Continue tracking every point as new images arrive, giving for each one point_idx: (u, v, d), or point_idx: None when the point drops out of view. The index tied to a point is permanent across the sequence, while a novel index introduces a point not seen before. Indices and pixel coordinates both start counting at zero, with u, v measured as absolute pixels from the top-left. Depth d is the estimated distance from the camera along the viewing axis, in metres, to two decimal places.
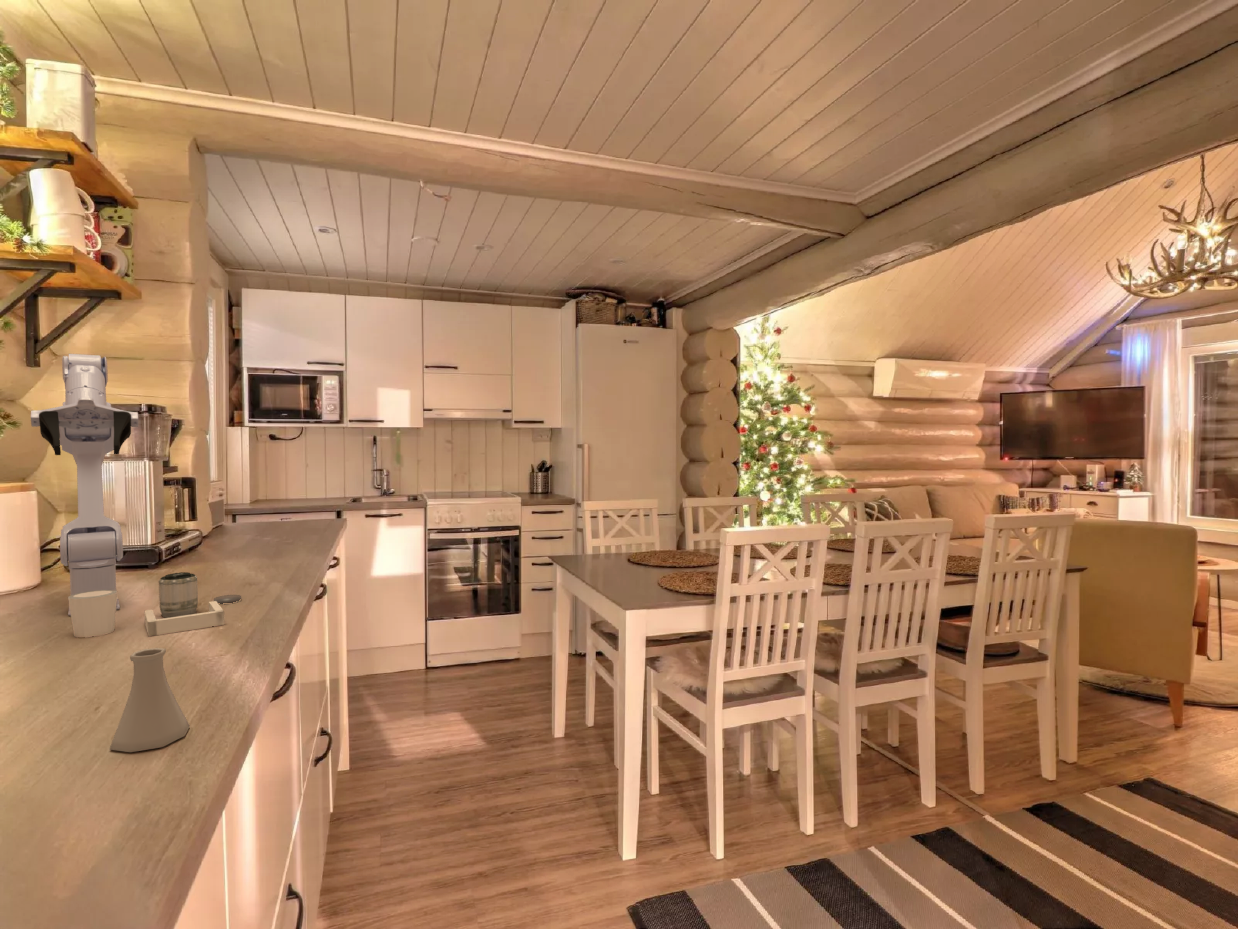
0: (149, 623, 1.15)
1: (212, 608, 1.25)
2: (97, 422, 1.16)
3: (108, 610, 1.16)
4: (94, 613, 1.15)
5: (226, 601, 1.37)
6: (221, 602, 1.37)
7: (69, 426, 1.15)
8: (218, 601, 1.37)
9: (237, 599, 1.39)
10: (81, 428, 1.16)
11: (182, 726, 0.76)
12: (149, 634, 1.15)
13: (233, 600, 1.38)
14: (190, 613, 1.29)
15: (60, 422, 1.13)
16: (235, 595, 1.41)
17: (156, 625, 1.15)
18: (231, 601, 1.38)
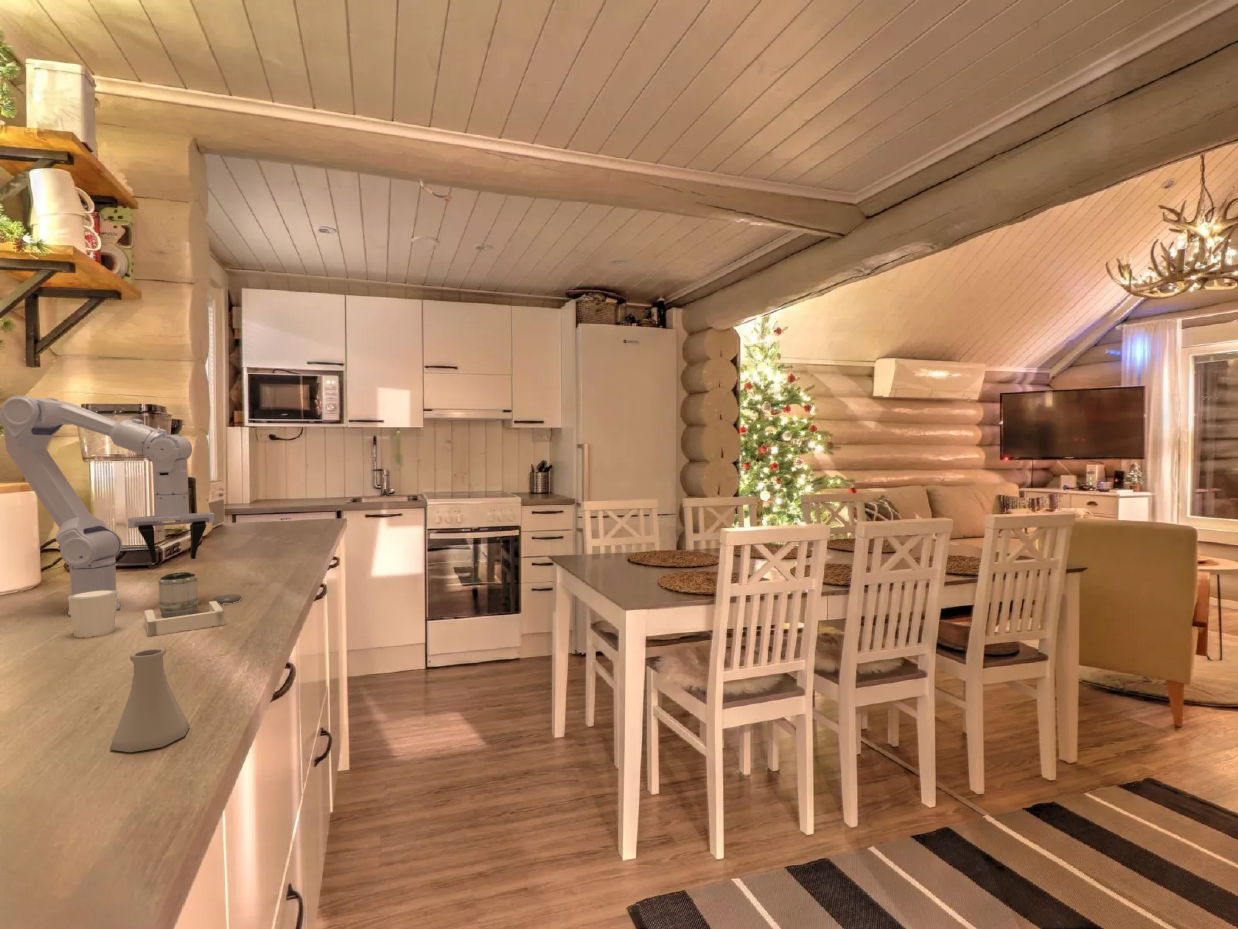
0: (149, 623, 1.15)
1: (212, 608, 1.25)
2: None
3: (108, 610, 1.16)
4: (94, 613, 1.15)
5: (226, 601, 1.37)
6: (221, 602, 1.37)
7: None
8: (218, 601, 1.37)
9: (237, 599, 1.39)
10: None
11: (182, 726, 0.76)
12: (149, 634, 1.15)
13: (233, 600, 1.38)
14: (190, 613, 1.29)
15: None
16: (235, 595, 1.41)
17: (156, 625, 1.15)
18: (231, 601, 1.38)
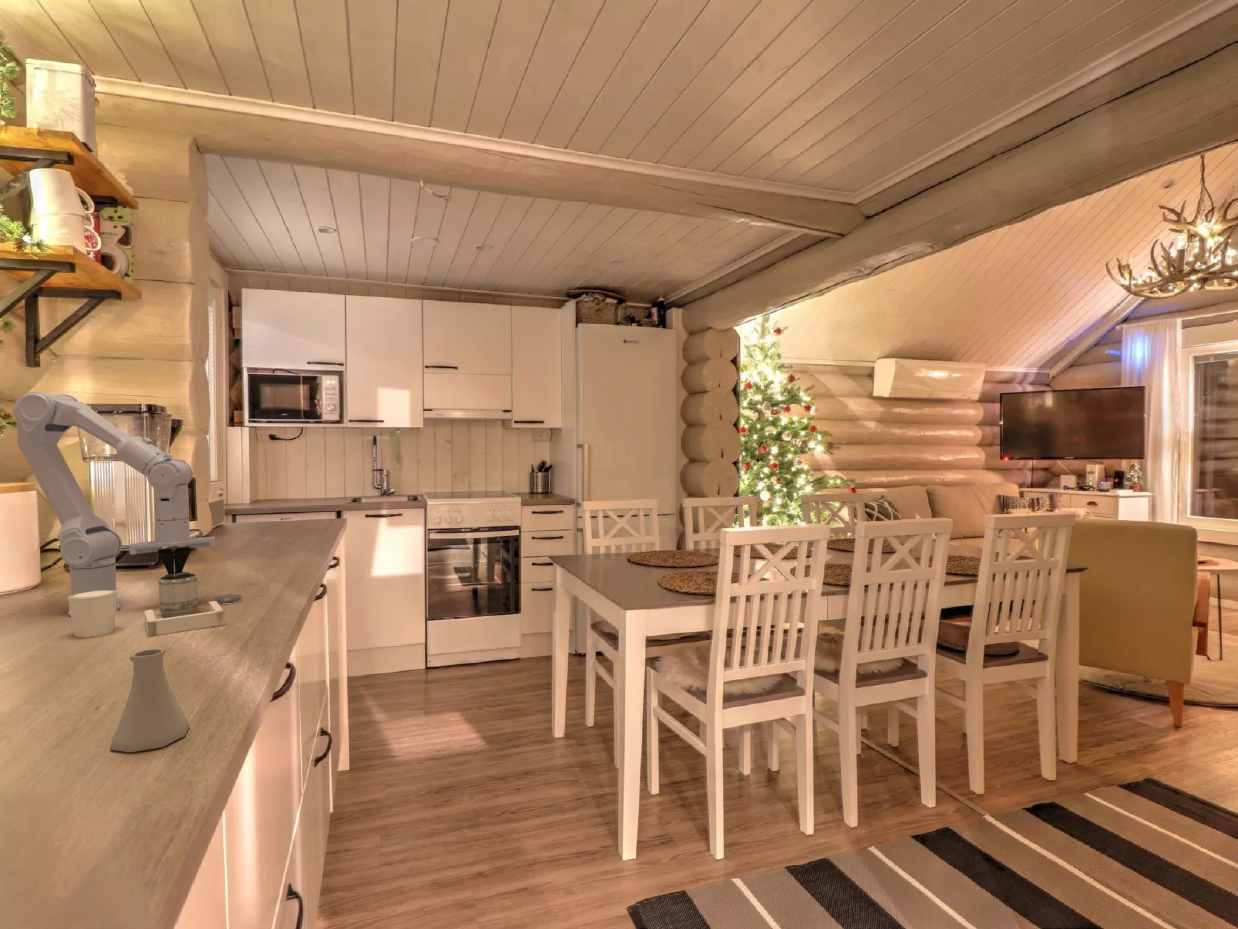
0: (149, 623, 1.15)
1: (212, 608, 1.25)
2: None
3: (108, 610, 1.16)
4: (94, 613, 1.15)
5: (226, 601, 1.37)
6: (221, 602, 1.37)
7: None
8: (218, 601, 1.37)
9: (237, 599, 1.39)
10: None
11: (182, 725, 0.76)
12: (149, 634, 1.15)
13: (233, 600, 1.38)
14: (190, 613, 1.29)
15: (152, 551, 1.34)
16: (235, 595, 1.41)
17: (156, 625, 1.15)
18: (231, 601, 1.38)
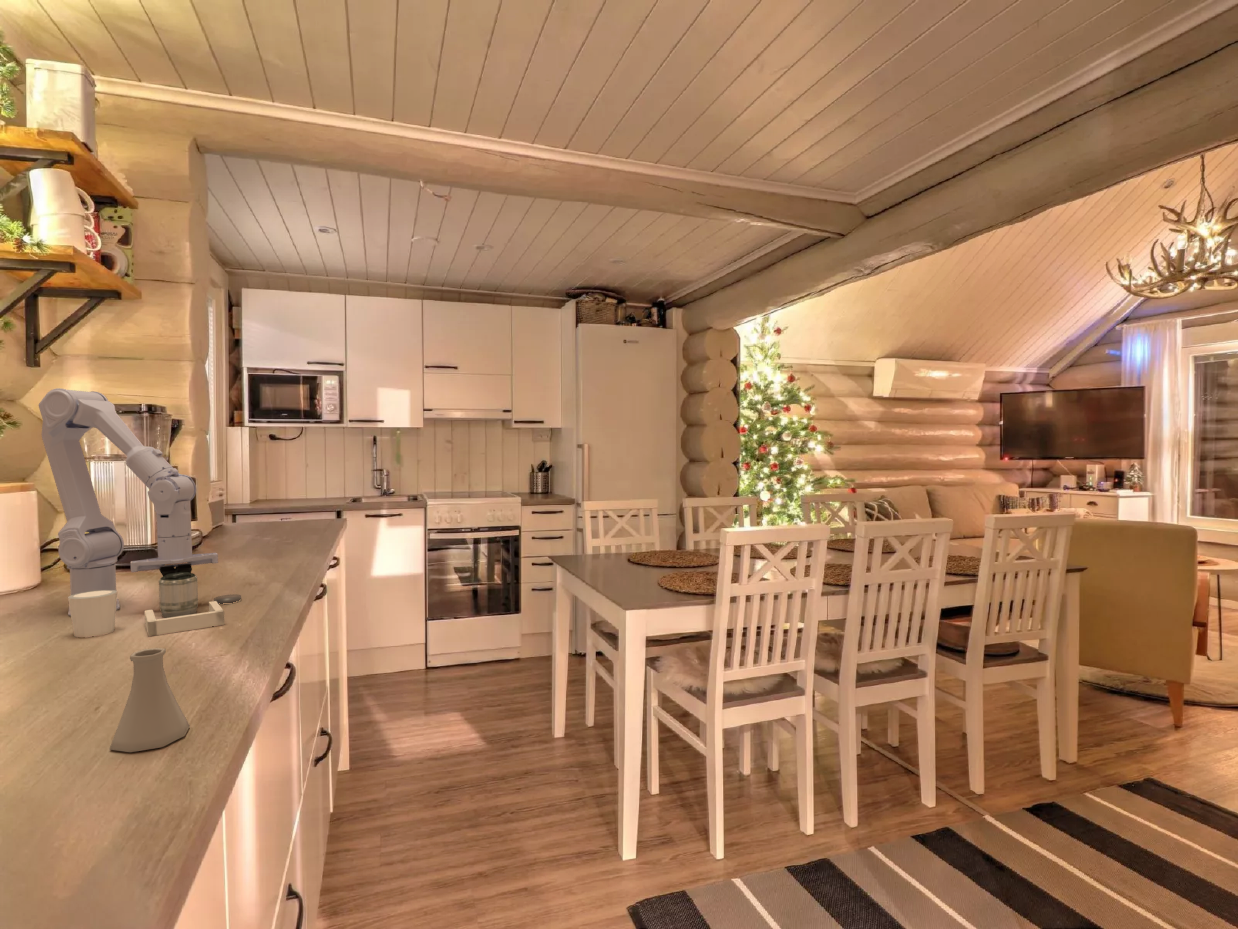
0: (149, 623, 1.15)
1: (212, 608, 1.25)
2: None
3: (108, 610, 1.16)
4: (94, 613, 1.15)
5: (225, 601, 1.37)
6: (220, 602, 1.37)
7: None
8: (217, 601, 1.37)
9: (236, 599, 1.39)
10: None
11: (182, 725, 0.76)
12: (149, 634, 1.15)
13: (232, 600, 1.38)
14: (190, 613, 1.29)
15: (154, 568, 1.31)
16: (235, 595, 1.41)
17: (156, 625, 1.15)
18: (230, 601, 1.38)
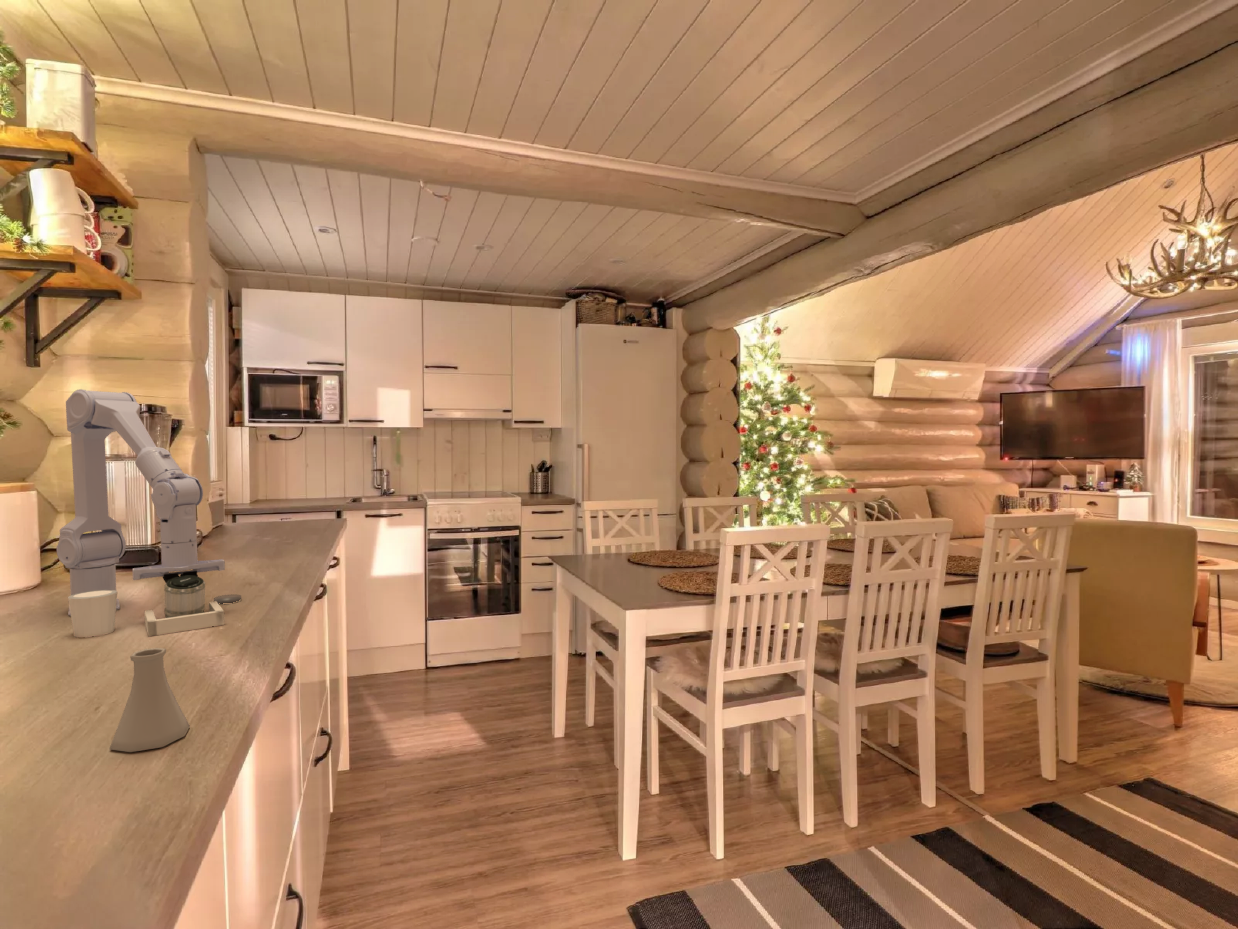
0: (149, 623, 1.15)
1: (212, 608, 1.25)
2: None
3: (108, 610, 1.16)
4: (94, 613, 1.15)
5: (225, 601, 1.37)
6: (220, 602, 1.37)
7: None
8: (217, 601, 1.37)
9: (236, 599, 1.39)
10: None
11: (183, 726, 0.76)
12: (149, 634, 1.15)
13: (232, 600, 1.38)
14: None
15: (157, 576, 1.24)
16: (236, 595, 1.41)
17: (156, 625, 1.15)
18: (230, 601, 1.38)
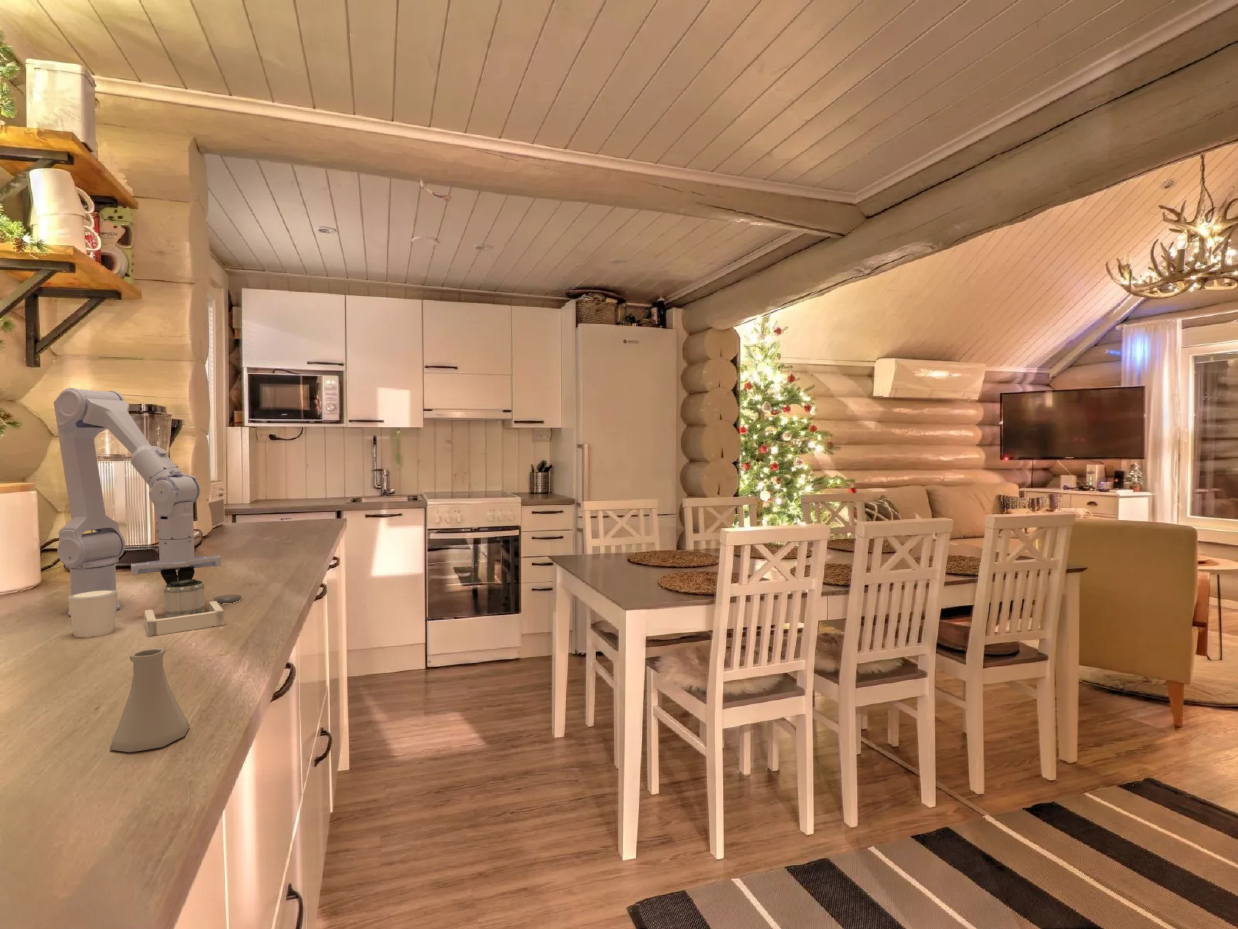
0: (149, 623, 1.15)
1: (212, 608, 1.25)
2: None
3: (108, 610, 1.16)
4: (94, 613, 1.15)
5: (224, 601, 1.37)
6: (219, 601, 1.37)
7: None
8: (217, 600, 1.37)
9: (235, 599, 1.39)
10: None
11: (182, 725, 0.76)
12: (149, 634, 1.15)
13: (231, 600, 1.38)
14: None
15: (155, 571, 1.28)
16: (236, 595, 1.41)
17: (156, 625, 1.15)
18: (229, 601, 1.38)
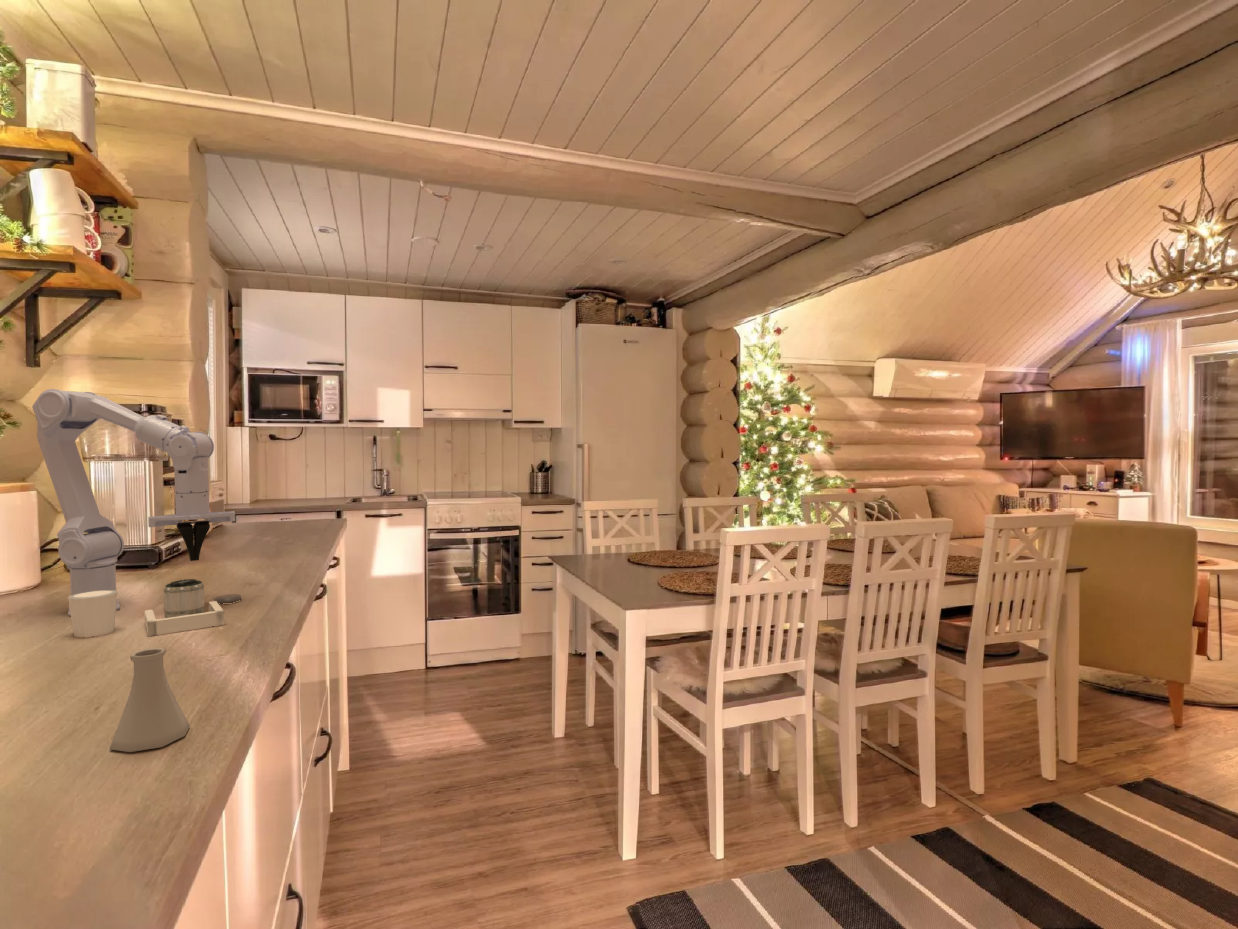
0: (149, 623, 1.15)
1: (212, 608, 1.25)
2: None
3: (108, 610, 1.16)
4: (94, 613, 1.15)
5: (223, 601, 1.37)
6: (219, 602, 1.37)
7: None
8: None
9: (235, 599, 1.38)
10: None
11: (182, 726, 0.76)
12: (149, 634, 1.15)
13: (230, 600, 1.38)
14: None
15: None
16: (236, 595, 1.41)
17: (156, 625, 1.15)
18: (228, 601, 1.38)
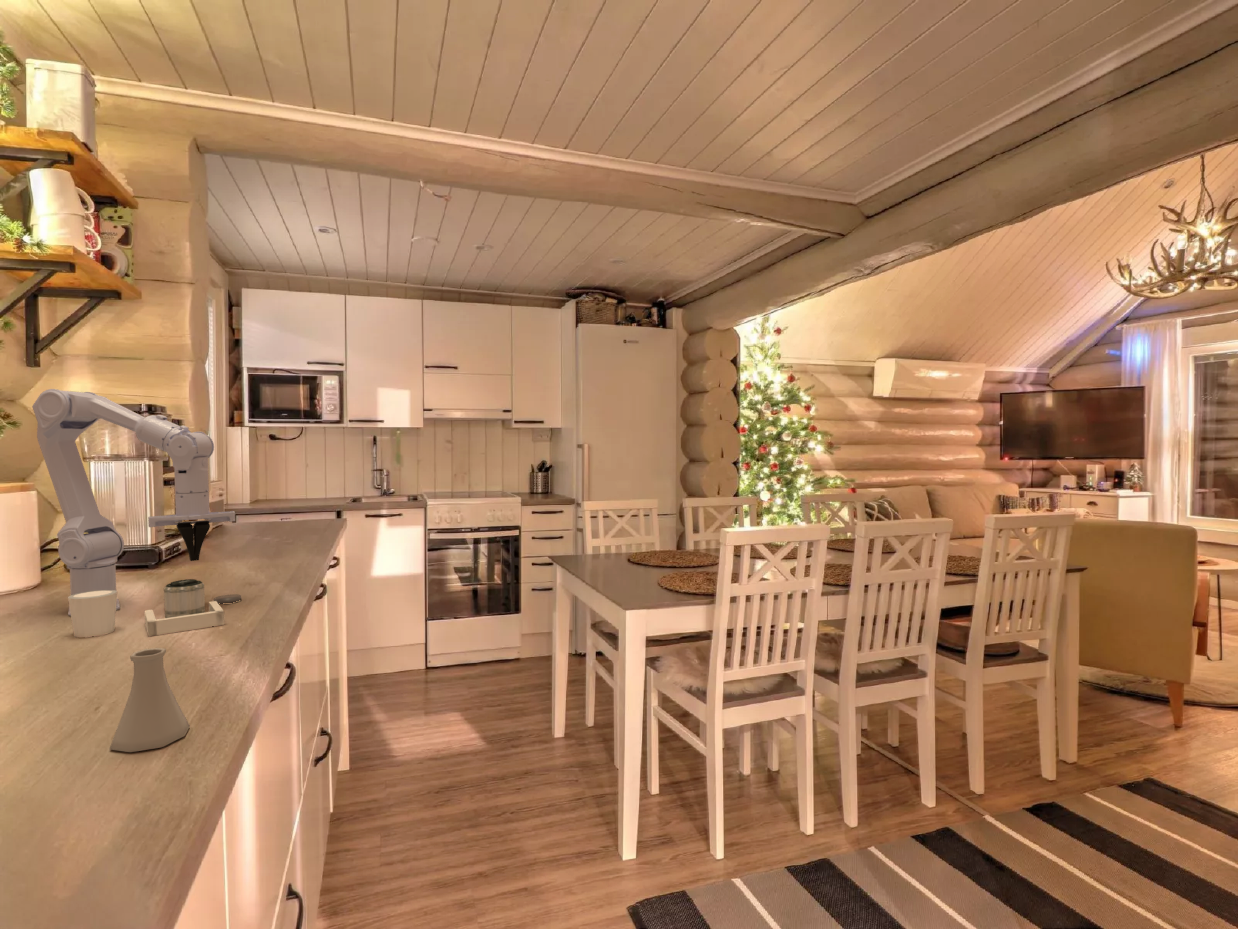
0: (149, 623, 1.15)
1: (212, 608, 1.25)
2: None
3: (108, 610, 1.16)
4: (94, 613, 1.15)
5: (223, 601, 1.37)
6: (218, 602, 1.37)
7: None
8: None
9: (234, 599, 1.38)
10: None
11: (182, 726, 0.76)
12: (149, 634, 1.15)
13: (230, 600, 1.38)
14: None
15: None
16: (236, 595, 1.41)
17: (156, 625, 1.15)
18: (228, 601, 1.37)
